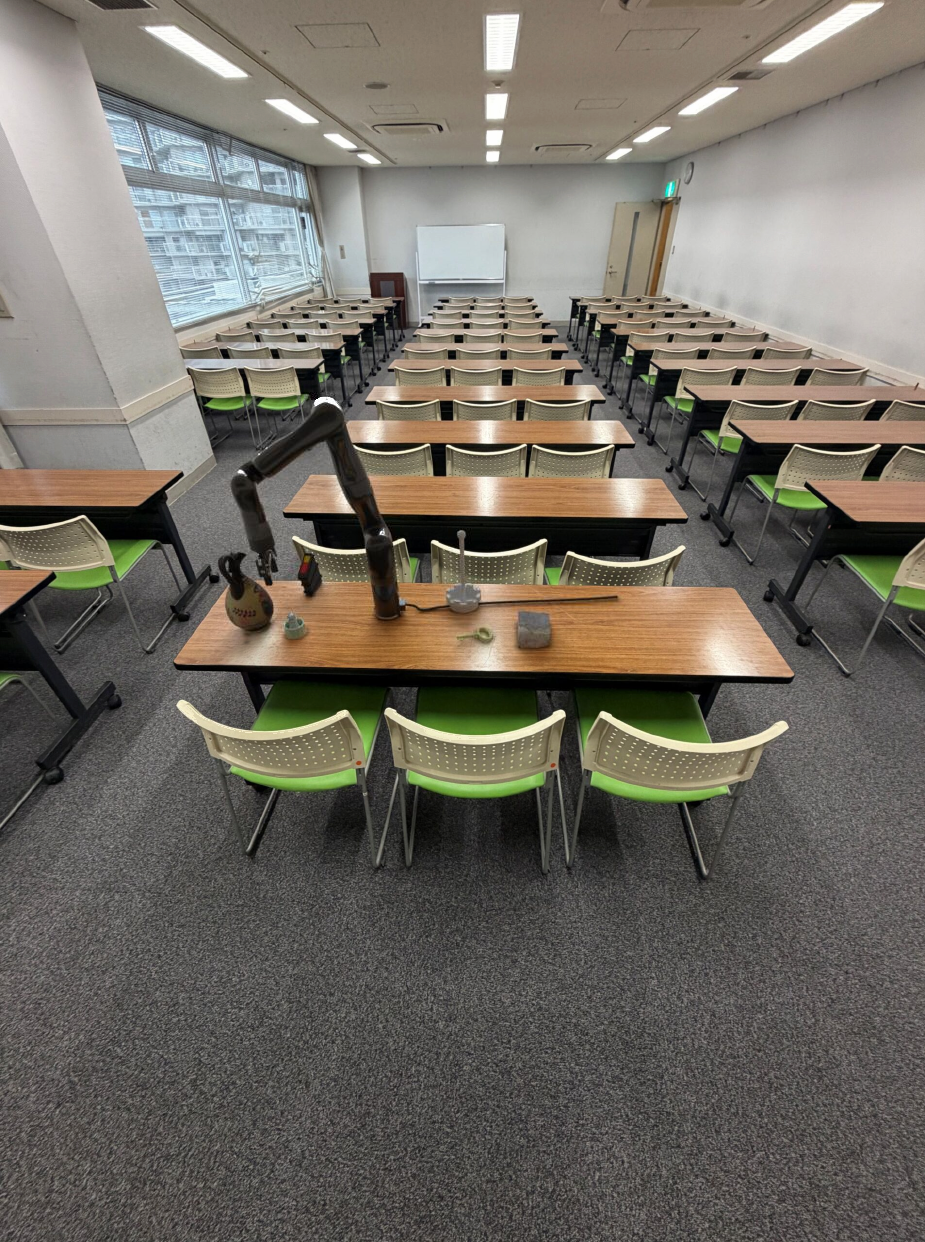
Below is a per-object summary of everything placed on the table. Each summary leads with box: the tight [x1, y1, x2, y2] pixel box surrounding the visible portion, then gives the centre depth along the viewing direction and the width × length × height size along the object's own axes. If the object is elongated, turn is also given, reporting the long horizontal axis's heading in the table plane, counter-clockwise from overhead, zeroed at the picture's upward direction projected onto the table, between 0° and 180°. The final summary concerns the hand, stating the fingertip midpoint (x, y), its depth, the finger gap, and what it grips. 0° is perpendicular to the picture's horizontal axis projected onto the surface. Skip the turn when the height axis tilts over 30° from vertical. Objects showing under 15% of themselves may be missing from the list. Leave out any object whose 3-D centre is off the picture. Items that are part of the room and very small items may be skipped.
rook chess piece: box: [286, 611, 300, 629], centre depth 177 cm, size 4×4×8 cm
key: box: [456, 626, 493, 643], centre depth 173 cm, size 7×12×2 cm, turn 126°
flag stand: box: [445, 530, 482, 614], centre depth 182 cm, size 13×13×30 cm
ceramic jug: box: [217, 551, 275, 635], centre depth 174 cm, size 17×15×30 cm
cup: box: [283, 617, 307, 640], centre depth 178 cm, size 7×7×4 cm
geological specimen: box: [517, 610, 551, 649], centre depth 173 cm, size 11×6×15 cm
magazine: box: [296, 552, 323, 597], centre depth 199 cm, size 4×13×15 cm, turn 173°
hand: (272, 578), depth 169 cm, fingers open, 8 cm apart
